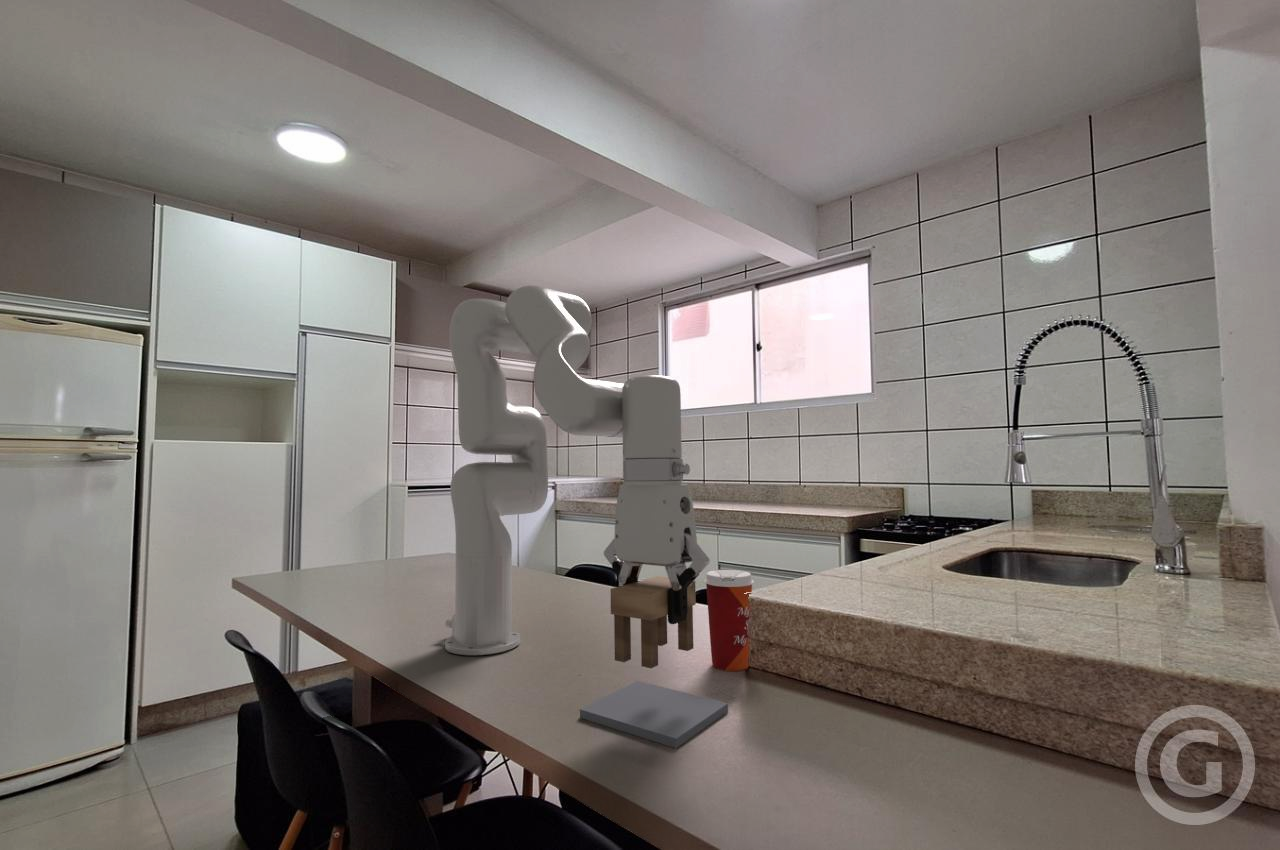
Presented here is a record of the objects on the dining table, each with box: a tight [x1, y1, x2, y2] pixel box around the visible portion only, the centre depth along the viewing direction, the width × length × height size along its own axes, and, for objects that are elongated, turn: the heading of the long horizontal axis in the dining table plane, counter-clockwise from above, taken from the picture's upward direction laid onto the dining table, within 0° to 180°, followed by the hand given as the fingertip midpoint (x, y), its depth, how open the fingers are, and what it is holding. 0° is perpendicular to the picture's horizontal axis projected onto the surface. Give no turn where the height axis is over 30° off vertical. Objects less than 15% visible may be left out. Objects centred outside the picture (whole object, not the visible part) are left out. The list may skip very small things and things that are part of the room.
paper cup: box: [703, 569, 755, 672], centre depth 93 cm, size 8×8×14 cm
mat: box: [579, 680, 729, 749], centre depth 74 cm, size 14×12×1 cm
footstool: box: [610, 576, 697, 669], centre depth 75 cm, size 10×6×8 cm, turn 144°
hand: (654, 616), depth 75 cm, fingers closed on footstool, 6 cm apart
